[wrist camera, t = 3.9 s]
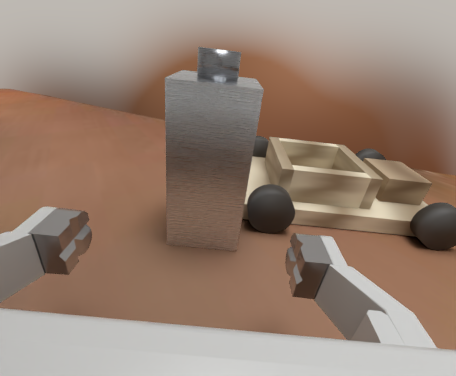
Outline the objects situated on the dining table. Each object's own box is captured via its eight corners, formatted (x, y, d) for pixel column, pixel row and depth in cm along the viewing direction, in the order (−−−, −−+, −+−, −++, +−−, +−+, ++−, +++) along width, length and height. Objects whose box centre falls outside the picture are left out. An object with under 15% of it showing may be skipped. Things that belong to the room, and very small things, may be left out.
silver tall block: (166, 244, 18) (164, 43, 12) (179, 206, 22) (183, 44, 16) (236, 251, 18) (269, 56, 12) (236, 211, 23) (259, 54, 16)
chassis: (242, 230, 20) (251, 181, 18) (239, 161, 33) (244, 127, 31) (458, 252, 21) (492, 206, 19) (374, 176, 33) (389, 143, 31)
